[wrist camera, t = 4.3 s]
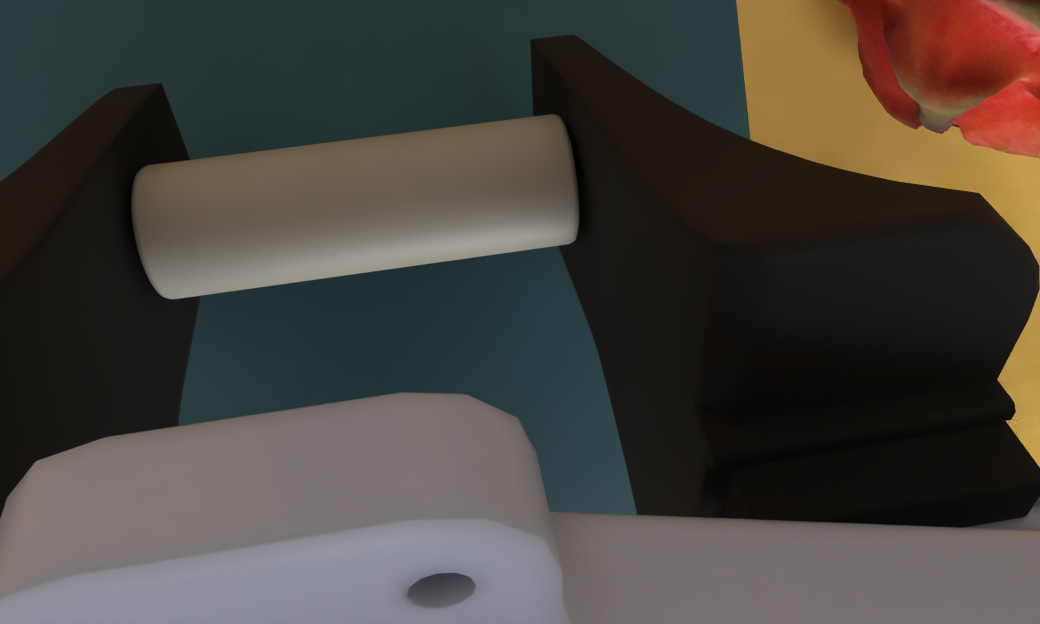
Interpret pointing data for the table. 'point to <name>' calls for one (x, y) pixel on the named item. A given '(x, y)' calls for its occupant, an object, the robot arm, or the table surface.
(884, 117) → the table surface
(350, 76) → the cool box lid
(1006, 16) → the dragon fruit
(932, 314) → the robot arm
